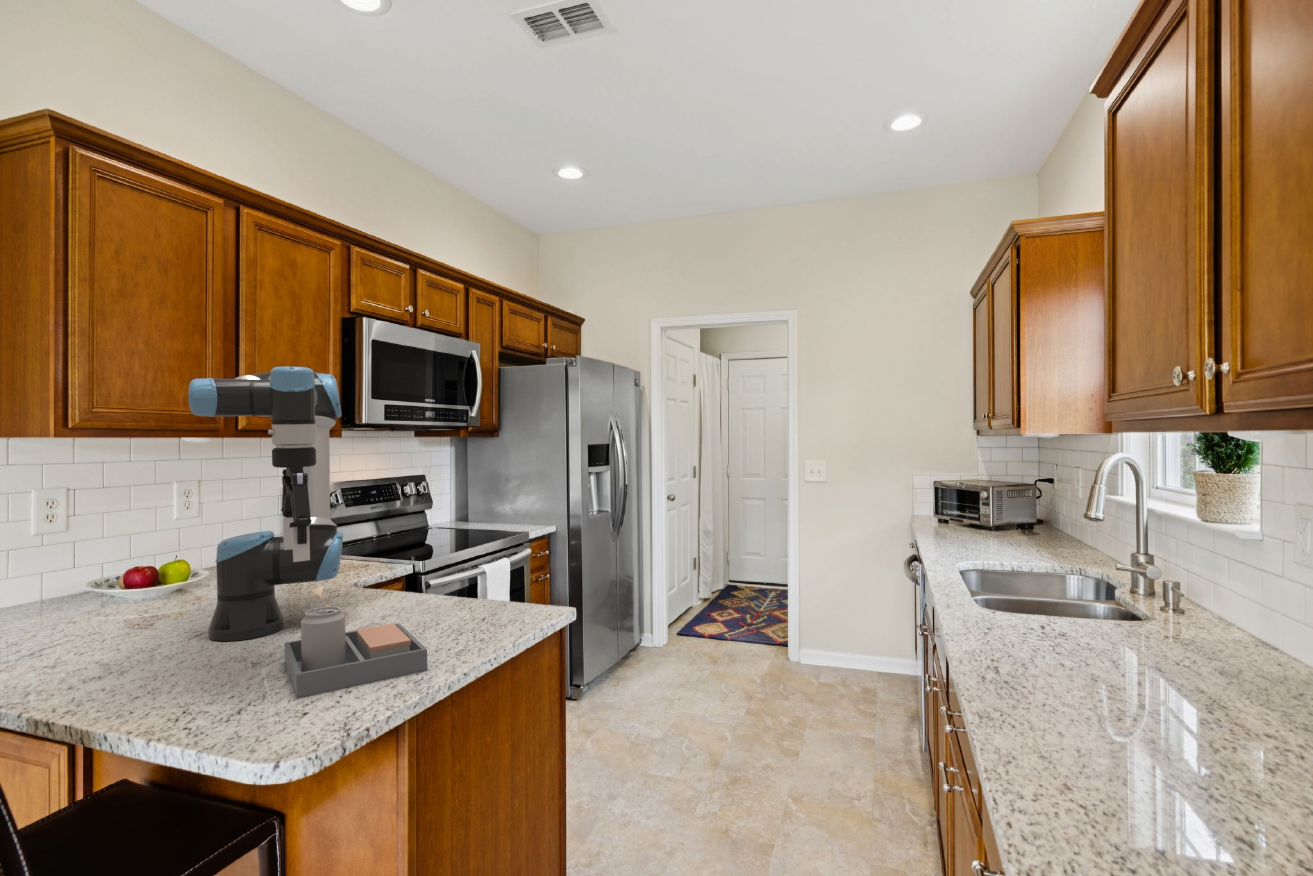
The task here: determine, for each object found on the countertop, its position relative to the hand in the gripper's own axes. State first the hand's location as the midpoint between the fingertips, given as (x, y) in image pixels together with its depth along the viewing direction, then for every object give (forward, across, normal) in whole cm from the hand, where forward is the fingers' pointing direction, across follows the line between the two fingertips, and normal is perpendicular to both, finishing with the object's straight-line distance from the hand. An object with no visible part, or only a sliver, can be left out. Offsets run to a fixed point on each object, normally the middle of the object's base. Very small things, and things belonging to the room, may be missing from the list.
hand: (296, 554), depth 127 cm
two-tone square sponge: (+22, +8, +14) cm, 27 cm away
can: (+22, +7, +3) cm, 23 cm away
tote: (+23, +7, +9) cm, 26 cm away
